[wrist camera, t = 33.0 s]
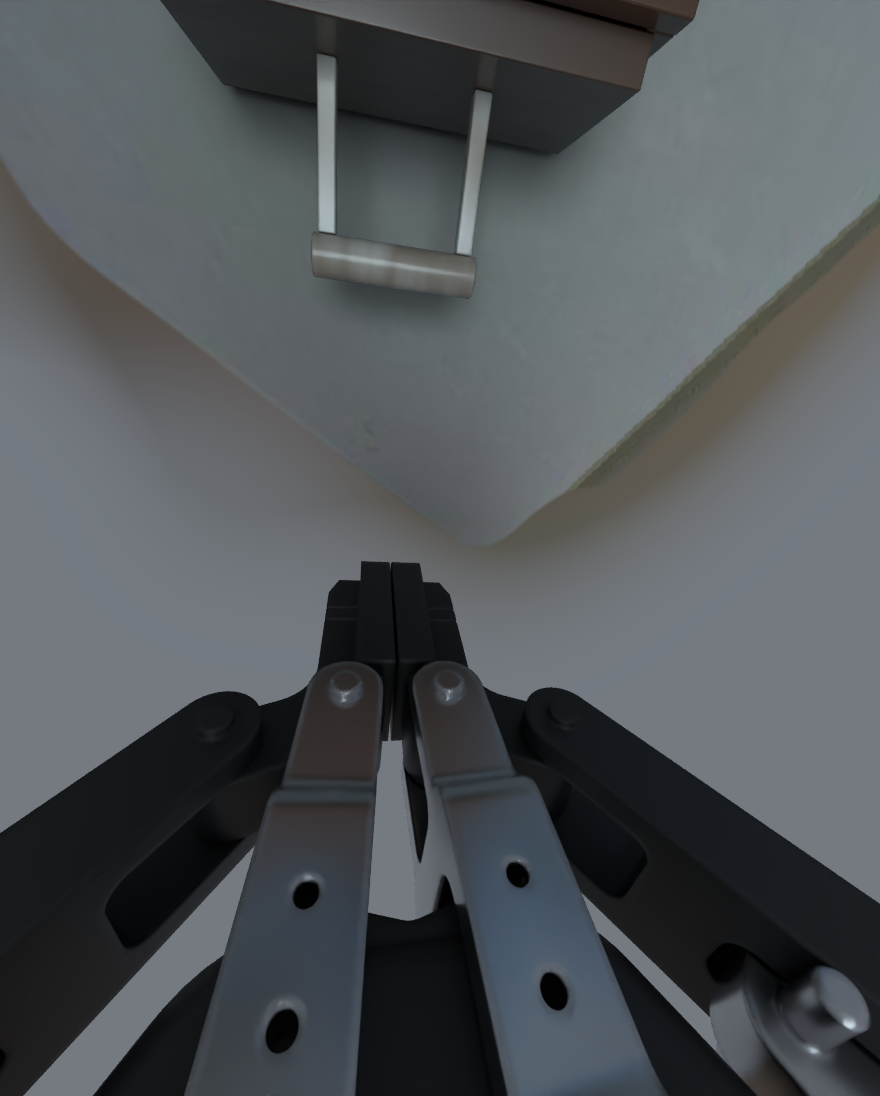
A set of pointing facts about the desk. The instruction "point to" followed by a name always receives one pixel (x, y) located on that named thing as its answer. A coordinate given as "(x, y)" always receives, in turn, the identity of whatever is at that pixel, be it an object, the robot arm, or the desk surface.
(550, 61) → the drawer
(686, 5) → the cabinet
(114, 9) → the desk surface
